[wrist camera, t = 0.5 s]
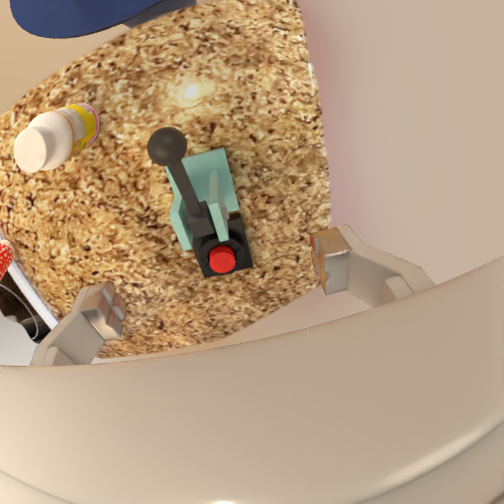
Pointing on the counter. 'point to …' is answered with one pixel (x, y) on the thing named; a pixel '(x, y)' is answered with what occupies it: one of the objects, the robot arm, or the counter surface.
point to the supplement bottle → (55, 137)
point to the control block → (235, 242)
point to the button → (222, 259)
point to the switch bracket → (205, 193)
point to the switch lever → (180, 177)
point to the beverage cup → (5, 256)
